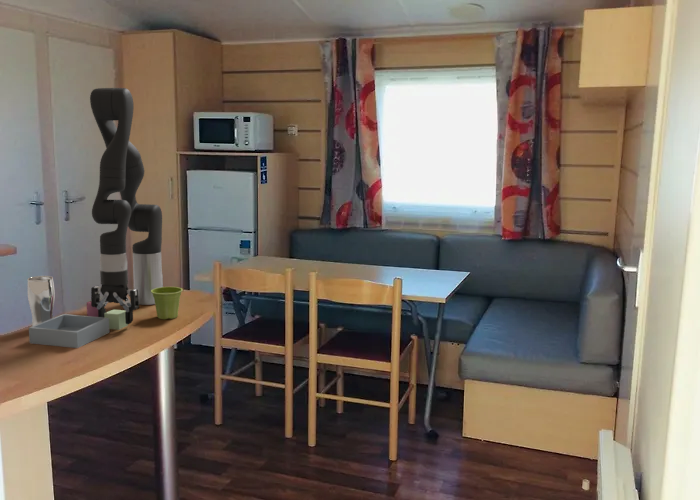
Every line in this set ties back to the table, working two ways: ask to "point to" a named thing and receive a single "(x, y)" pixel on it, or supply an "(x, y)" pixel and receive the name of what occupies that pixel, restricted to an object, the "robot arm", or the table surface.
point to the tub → (69, 330)
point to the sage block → (116, 319)
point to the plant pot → (167, 301)
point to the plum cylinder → (91, 310)
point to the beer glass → (41, 298)
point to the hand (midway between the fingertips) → (115, 322)
